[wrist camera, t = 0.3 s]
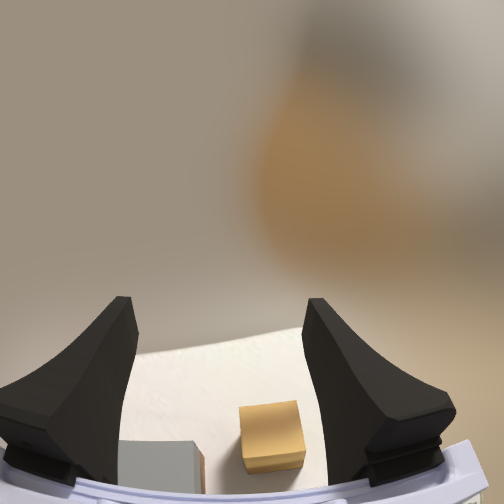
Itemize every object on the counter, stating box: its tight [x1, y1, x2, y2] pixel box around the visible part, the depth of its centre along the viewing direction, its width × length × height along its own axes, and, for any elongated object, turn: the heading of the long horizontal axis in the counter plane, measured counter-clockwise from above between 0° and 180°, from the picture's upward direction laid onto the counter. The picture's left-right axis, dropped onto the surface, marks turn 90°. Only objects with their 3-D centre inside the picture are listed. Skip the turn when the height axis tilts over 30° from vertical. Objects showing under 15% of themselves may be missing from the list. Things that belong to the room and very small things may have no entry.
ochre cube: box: [239, 400, 306, 474], centre depth 25 cm, size 5×5×5 cm
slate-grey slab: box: [118, 440, 201, 494], centre depth 21 cm, size 7×7×2 cm
